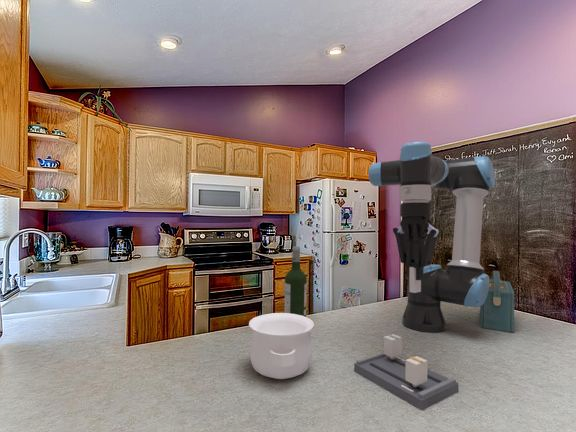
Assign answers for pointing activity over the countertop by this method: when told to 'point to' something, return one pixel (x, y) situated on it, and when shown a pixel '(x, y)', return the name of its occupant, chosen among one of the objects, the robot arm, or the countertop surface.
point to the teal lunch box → (498, 306)
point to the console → (393, 380)
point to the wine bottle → (295, 287)
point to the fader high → (392, 346)
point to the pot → (281, 344)
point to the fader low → (416, 371)
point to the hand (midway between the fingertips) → (415, 291)
